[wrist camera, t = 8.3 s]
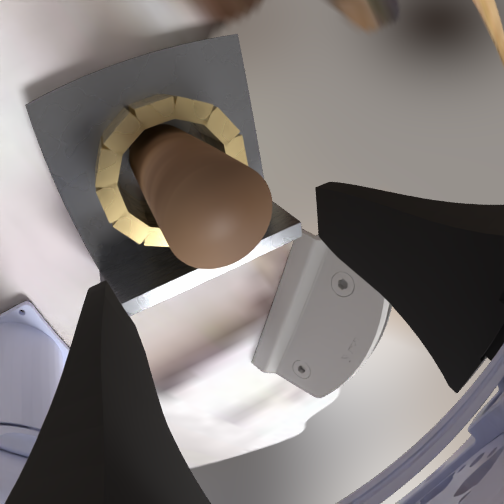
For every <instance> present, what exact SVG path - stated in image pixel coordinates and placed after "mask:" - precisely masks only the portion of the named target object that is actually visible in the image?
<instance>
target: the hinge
mask: <svg viewBox="0 0 504 504" xmlns="http://www.w3.org/2000/svg"><path fill="white" fill-rule="evenodd" d="M391 308H392V305H391V304H390V303H389V302H388V301H387V300H386V299H385V298H384V297H383V296H382V295H381V294H380V293H379V292H377V291H376V290H375V289H374V288H373V287H372V286H370V285H369V284H368V283H367V282H366V281H365V280H363V279H362V278H361V277H360V276H359V275H358V274H356V273H355V272H354V271H353V270H352V269H350V268H349V267H348V266H347V265H346V264H345V263H343V262H342V261H341V260H340V259H339V258H338V257H337V256H336V255H335V254H334V253H333V252H332V251H331V250H330V249H329V248H328V247H327V246H326V244H325V243H324V242H323V241H322V240H321V239H320V238H319V234H318V235H316V236H315V235H313V234H311V233H309V232H307V231H305V230H304V229H302V236H301V237H299V238H297V239H295V240H294V242H293V245H292V248H291V251H290V254H289V257H288V260H287V263H286V266H285V269H284V272H283V275H282V278H281V281H280V284H279V287H278V290H277V292H276V295H275V298H274V301H273V304H272V307H271V310H270V313H269V316H268V318H267V321H266V324H265V327H264V330H263V333H262V335H261V338H260V341H259V344H258V347H257V349H256V352H255V355H254V358H253V360H252V364H254V365H255V366H256V367H257V368H258V369H260V370H261V371H262V372H264V373H276V374H278V375H279V376H281V377H283V378H284V379H286V380H287V381H289V382H291V383H292V384H294V385H296V386H297V387H299V388H300V389H302V390H304V391H305V392H307V393H309V394H310V395H312V396H314V397H316V398H322V397H324V396H326V395H328V394H330V393H331V392H333V391H334V390H336V389H337V388H339V387H340V386H342V385H343V384H344V383H346V382H347V381H348V380H349V379H350V378H351V377H353V376H354V375H355V374H356V373H357V371H358V370H359V369H360V368H361V367H362V366H363V364H364V363H365V362H366V360H367V359H368V358H369V357H370V355H371V354H372V352H373V351H374V349H375V348H376V346H377V344H378V342H379V340H380V339H381V337H382V335H383V332H384V330H385V327H386V325H387V322H388V319H389V316H390V312H391Z"/></svg>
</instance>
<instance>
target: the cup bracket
mask: <svg viewBox="0 0 504 504" xmlns="http://www.w3.org/2000/svg"><path fill="white" fill-rule="evenodd" d="M26 108H27V111H28V114H29V117H30V120H31V123H32V126H33V129H34V132H35V134H36V137H37V140H38V143H39V145H40V148H41V150H42V153H43V156H44V158H45V161H46V163H47V165H48V168H49V170H50V173H51V175H52V177H53V180H54V182H55V184H56V186H57V189H58V191H59V193H60V195H61V197H62V200H63V202H64V204H65V206H66V208H67V210H68V212H69V214H70V216H71V218H72V220H73V222H74V224H75V226H76V228H77V230H78V232H79V234H80V236H81V238H82V240H83V242H84V244H85V245H86V247H87V249H88V251H89V253H90V255H91V256H92V258H93V260H94V262H95V263H96V265H97V267H98V269H99V271H100V280H101V282H103V281H105V280H107V282H108V284H109V285H110V287H111V289H112V290H113V292H114V293H115V295H116V297H117V298H118V300H119V301H120V303H121V304H122V306H123V308H124V309H125V311H126V312H127V314H128V315H129V316H132V315H134V314H136V313H138V312H140V311H143V310H145V309H147V308H149V307H151V306H153V305H156V304H158V303H160V302H162V301H164V300H166V299H169V298H171V297H173V296H175V295H177V294H179V293H182V292H184V291H186V290H188V289H190V288H192V287H194V286H197V285H199V284H201V283H203V282H205V281H207V280H210V279H212V278H214V277H216V276H218V275H220V274H222V273H225V272H227V271H229V270H231V269H233V268H235V267H237V266H240V265H242V264H244V263H246V262H248V261H250V260H252V259H255V258H257V257H259V256H261V255H263V254H265V253H267V252H270V251H272V250H274V249H276V248H278V247H280V246H282V245H284V244H287V243H289V242H291V241H293V240H295V239H297V238H299V237H301V236H302V228H301V222H300V221H299V220H297V219H296V218H295V217H293V216H292V215H290V214H289V213H288V212H286V211H285V210H284V209H282V208H281V207H280V206H278V205H277V204H276V203H274V202H273V201H272V215H271V220H270V223H269V226H268V229H267V231H266V233H265V235H264V236H263V238H262V239H261V241H260V242H259V244H258V245H257V246H256V247H255V248H254V249H253V250H252V251H251V252H250V253H249V254H248V255H247V256H245V257H244V258H242V259H241V260H239V261H238V262H236V263H234V264H231V265H229V266H226V267H223V268H218V269H199V268H194V267H192V266H189V265H187V264H185V263H183V262H182V261H181V260H179V259H178V258H177V257H176V256H175V255H174V253H173V252H172V251H171V249H170V247H169V245H168V244H167V242H166V240H165V238H164V236H163V234H162V232H161V230H160V228H159V226H158V224H157V222H156V220H155V218H154V216H153V214H152V211H151V209H150V207H149V205H148V203H147V201H146V199H145V197H144V195H143V193H142V191H141V188H140V186H139V184H138V182H137V180H136V178H135V175H134V173H133V171H132V169H131V166H130V163H129V151H130V147H131V145H132V143H133V142H134V141H135V140H136V138H137V137H138V136H139V135H140V134H141V133H142V132H143V131H144V130H145V129H147V128H150V127H153V126H155V125H158V124H168V125H172V126H174V127H176V128H178V129H180V130H182V131H184V132H186V133H188V134H190V135H192V136H194V137H196V138H198V139H199V140H201V141H203V142H205V143H207V144H209V145H211V146H213V147H214V148H216V149H218V150H220V151H222V152H224V153H225V154H227V155H229V156H231V157H233V158H234V159H236V160H238V161H240V162H242V163H243V164H245V165H247V166H249V167H250V168H252V169H254V170H255V171H256V172H258V173H259V174H260V175H261V176H262V177H263V179H264V176H263V170H262V165H261V158H260V152H259V147H258V141H257V135H256V130H255V124H254V118H253V113H252V108H251V102H250V97H249V91H248V86H247V80H246V75H245V69H244V64H243V59H242V54H241V49H240V44H239V39H238V34H234V35H229V36H222V37H216V38H211V39H206V40H201V41H196V42H191V43H187V44H182V45H178V46H174V47H170V48H166V49H163V50H159V51H156V52H152V53H149V54H145V55H142V56H139V57H136V58H132V59H129V60H126V61H123V62H121V63H118V64H115V65H112V66H109V67H107V68H104V69H101V70H99V71H96V72H94V73H91V74H89V75H86V76H84V77H82V78H79V79H77V80H75V81H73V82H70V83H68V84H66V85H64V86H62V87H59V88H57V89H55V90H53V91H51V92H49V93H47V94H45V95H43V96H41V97H39V98H38V99H36V100H34V101H32V102H30V103H28V104H26Z"/></svg>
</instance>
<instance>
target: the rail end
mask: <svg viewBox="0 0 504 504" xmlns="http://www.w3.org/2000/svg"><path fill="white" fill-rule="evenodd" d="M129 163H130V166H131V169H132V171H133V173H134V175H135V178H136V180H137V182H138V184H139V186H140V188H141V191H142V193H143V195H144V197H145V199H146V201H147V203H148V205H149V207H150V209H151V211H152V214H153V216H154V218H155V220H156V222H157V224H158V226H159V228H160V230H161V232H162V234H163V236H164V238H165V240H166V242H167V244H168V245H169V247H170V249H171V251H172V252H173V253H174V255H175V256H176V257H177V258H178V259H179V260H181V261H182V262H183V263H185V264H187V265H189V266H192V267H194V268H199V269H218V268H223V267H226V266H229V265H231V264H234V263H236V262H238V261H239V260H241V259H242V258H244V257H245V256H247V255H248V254H249V253H250V252H251V251H252V250H253V249H254V248H255V247H256V246H257V245H258V244H259V242H260V241H261V239H262V238H263V236H264V235H265V233H266V231H267V229H268V226H269V223H270V220H271V215H272V197H271V193H270V190H269V188H268V185H267V183H266V181H265V180H264V179H263V177H262V176H261V175H260V174H259V173H258V172H256V171H255V170H254V169H252V168H250V167H249V166H247V165H245V164H243V163H242V162H240V161H238V160H236V159H234V158H233V157H231V156H229V155H227V154H225V153H224V152H222V151H220V150H218V149H216V148H214V147H213V146H211V145H209V144H207V143H205V142H203V141H201V140H199V139H198V138H196V137H194V136H192V135H190V134H188V133H186V132H184V131H182V130H180V129H178V128H176V127H174V126H172V125H168V124H158V125H155V126H153V127H150V128H147V129H145V130H144V131H143V132H142V133H141V134H140V135H139V136H138V137H137V138H136V140H135V141H134V142H133V143H132V145H131V147H130V151H129Z"/></svg>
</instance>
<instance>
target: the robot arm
mask: <svg viewBox="0 0 504 504" xmlns="http://www.w3.org/2000/svg"><path fill="white" fill-rule="evenodd" d="M316 201H317V216H318V230H319V231H318V233H319V238H320V239H321V240H322V241H323V242H324V243H325V244H326V246H327V247H328V248H329V249H330V250H331V251H332V252H333V253H334V254H335V255H336V256H337V257H338V258H339V259H340V260H341V261H342V262H343V263H345V264H346V265H347V266H348V267H349V268H350V269H352V270H353V271H354V272H355V273H356V274H358V275H359V276H360V277H361V278H362V279H363V280H365V281H366V282H367V283H368V284H369V285H370V286H372V287H373V288H374V289H375V290H376V291H377V292H379V293H380V294H381V295H382V296H383V297H384V298H385V299H386V300H387V301H388V302H389V303H390V304H391V305H392V306H393V307H394V309H395V310H396V311H397V312H398V313H399V314H400V315H401V316H402V318H403V319H404V320H405V321H406V322H407V324H408V325H409V326H410V327H411V329H412V330H413V331H414V332H415V333H416V335H417V336H418V337H419V339H420V340H421V342H422V343H423V345H424V346H425V347H426V349H427V350H428V352H429V353H430V355H431V356H432V357H433V359H434V361H435V362H436V364H437V366H438V367H439V369H440V370H441V372H442V374H443V376H444V378H445V379H446V381H447V383H448V385H449V386H450V388H452V389H453V390H454V391H455V392H456V393H458V392H459V390H461V388H462V387H463V386H464V385H465V384H466V383H467V382H468V380H469V379H470V378H471V377H472V376H473V374H474V373H475V372H476V371H477V370H478V368H479V367H480V366H481V364H482V363H483V362H484V361H485V359H486V358H489V359H490V360H491V362H490V363H489V365H488V366H487V367H486V368H485V370H484V371H483V372H482V374H481V375H480V376H479V377H478V379H477V380H476V381H475V382H474V383H473V385H472V386H471V387H470V388H469V389H468V391H467V392H466V393H465V394H464V395H463V396H462V398H461V399H460V400H459V401H458V402H457V403H456V404H455V405H454V406H453V407H452V408H451V410H450V411H449V412H448V413H447V414H446V415H445V416H444V417H443V418H442V419H441V420H440V421H439V422H438V423H437V424H436V425H435V426H434V427H433V428H432V429H431V430H430V431H429V432H428V433H427V434H426V435H425V436H424V437H422V439H420V440H419V441H418V442H417V443H416V444H415V445H414V446H412V447H411V448H410V449H409V450H408V451H407V452H406V453H404V454H403V455H402V456H401V457H400V458H398V459H397V460H396V461H395V462H394V463H392V464H391V465H390V466H389V467H387V468H386V469H385V470H383V471H382V472H381V473H379V474H378V475H377V476H376V477H374V478H373V479H371V480H370V481H369V482H367V483H366V484H364V485H363V486H362V487H360V488H359V489H357V490H356V491H354V492H353V493H351V494H350V495H348V496H347V497H345V498H344V499H342V500H341V501H339V502H337V503H336V504H380V503H382V502H383V501H384V500H385V499H387V498H388V497H389V496H391V495H392V494H393V493H395V492H396V491H397V490H398V489H400V488H401V487H402V486H403V485H405V484H406V483H407V482H408V481H409V480H410V479H412V478H413V477H414V476H415V475H416V474H417V473H419V472H420V471H421V470H422V469H423V468H424V467H425V466H426V465H427V464H428V463H429V462H430V461H432V460H433V459H434V458H435V457H436V456H437V455H438V454H439V453H440V452H441V451H442V450H443V449H444V448H445V447H446V446H447V445H448V444H449V443H450V442H451V441H452V440H453V438H454V437H455V436H456V435H457V434H458V433H459V432H460V431H461V430H462V429H463V427H464V426H465V425H466V424H467V423H468V422H469V421H470V419H471V418H472V417H473V416H474V414H476V412H477V411H478V410H479V409H480V407H481V406H482V405H483V404H484V402H485V401H486V400H487V398H488V397H489V396H490V394H491V393H492V392H493V390H494V389H495V388H496V386H497V385H498V387H499V391H498V392H497V394H496V395H495V396H494V397H493V398H492V399H491V400H490V401H489V402H488V403H487V404H486V405H485V406H484V408H483V409H482V410H481V411H480V412H479V413H478V414H477V416H476V417H475V419H474V420H473V422H472V423H471V424H470V426H469V428H468V432H469V433H470V434H471V436H470V438H469V439H468V440H467V441H466V442H465V443H464V444H463V445H462V446H461V447H460V448H459V449H458V450H457V451H456V452H455V453H454V454H453V455H452V456H451V457H450V458H449V459H448V460H447V461H446V462H444V463H443V464H442V465H441V466H440V467H439V468H438V469H437V470H436V471H435V472H433V473H432V474H431V475H430V476H429V477H428V478H426V479H425V480H424V481H423V482H422V483H420V484H419V485H418V486H417V487H416V488H414V489H413V490H412V491H411V492H410V493H408V494H407V495H406V496H405V497H403V498H402V499H401V500H399V501H398V502H397V503H395V504H504V205H477V204H463V203H452V202H444V201H436V200H429V199H423V198H418V197H413V196H407V195H402V194H397V193H392V192H387V191H382V190H377V189H373V188H368V187H362V186H357V185H352V184H345V183H338V182H328V183H326V184H323V185H321V186H318V187H316ZM20 310H24V311H25V312H21V311H20ZM0 504H211V503H210V502H209V500H208V498H207V497H206V496H205V494H204V492H203V491H202V489H201V488H200V486H199V484H198V483H197V481H196V479H195V478H194V476H193V474H192V472H191V471H190V469H189V467H188V465H187V463H186V462H185V460H184V458H183V456H182V454H181V452H180V450H179V448H178V446H177V444H176V442H175V440H174V438H173V436H172V434H171V432H170V430H169V427H168V425H167V422H166V420H165V417H164V415H163V412H162V409H161V405H160V402H159V399H158V396H157V392H156V389H155V385H154V382H153V378H152V375H151V371H150V368H149V364H148V360H147V357H146V353H145V350H144V347H143V345H142V342H141V339H140V337H139V334H138V331H137V329H136V326H135V324H134V323H133V321H132V320H131V318H130V317H129V315H128V314H127V312H126V311H125V309H124V308H123V306H122V304H121V303H120V301H119V300H118V298H117V297H116V295H115V293H114V292H113V290H112V289H111V287H110V285H109V284H108V282H107V280H105V281H103V282H101V283H99V284H97V285H95V286H93V287H90V288H89V289H88V292H87V295H86V298H85V301H84V304H83V307H82V311H81V314H80V317H79V321H78V324H77V327H76V331H75V334H74V337H73V341H72V344H71V347H70V349H69V347H68V346H67V345H66V344H65V343H64V342H63V341H62V340H61V338H60V337H59V336H58V335H57V334H56V333H55V332H54V330H53V329H52V328H51V327H50V326H49V324H48V323H47V322H46V321H45V320H44V318H43V317H42V316H41V315H40V313H39V312H38V311H37V310H36V308H35V307H34V306H33V304H32V303H30V302H28V301H25V302H22V303H20V304H19V305H17V306H15V307H13V308H11V309H9V310H7V311H6V312H4V313H2V314H0Z"/></svg>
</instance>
